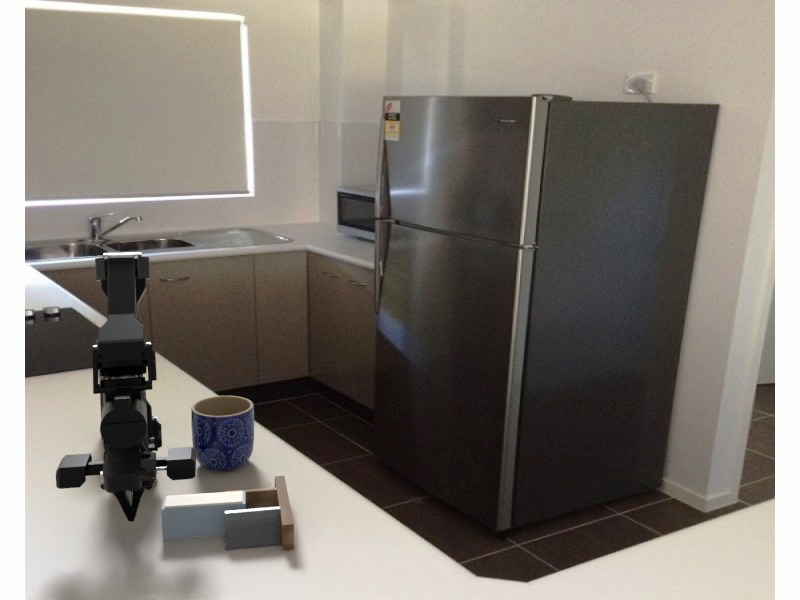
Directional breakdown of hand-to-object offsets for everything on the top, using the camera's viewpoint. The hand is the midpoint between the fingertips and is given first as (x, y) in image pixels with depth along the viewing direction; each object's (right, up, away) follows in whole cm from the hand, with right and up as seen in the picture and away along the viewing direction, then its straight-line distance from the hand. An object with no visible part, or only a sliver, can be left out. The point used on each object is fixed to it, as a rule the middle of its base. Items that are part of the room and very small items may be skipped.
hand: (131, 520), depth 112 cm
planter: (+8, +3, +25) cm, 27 cm away
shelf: (+17, -2, +4) cm, 18 cm away
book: (+10, -2, +3) cm, 11 cm away
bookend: (+18, -3, 0) cm, 18 cm away
